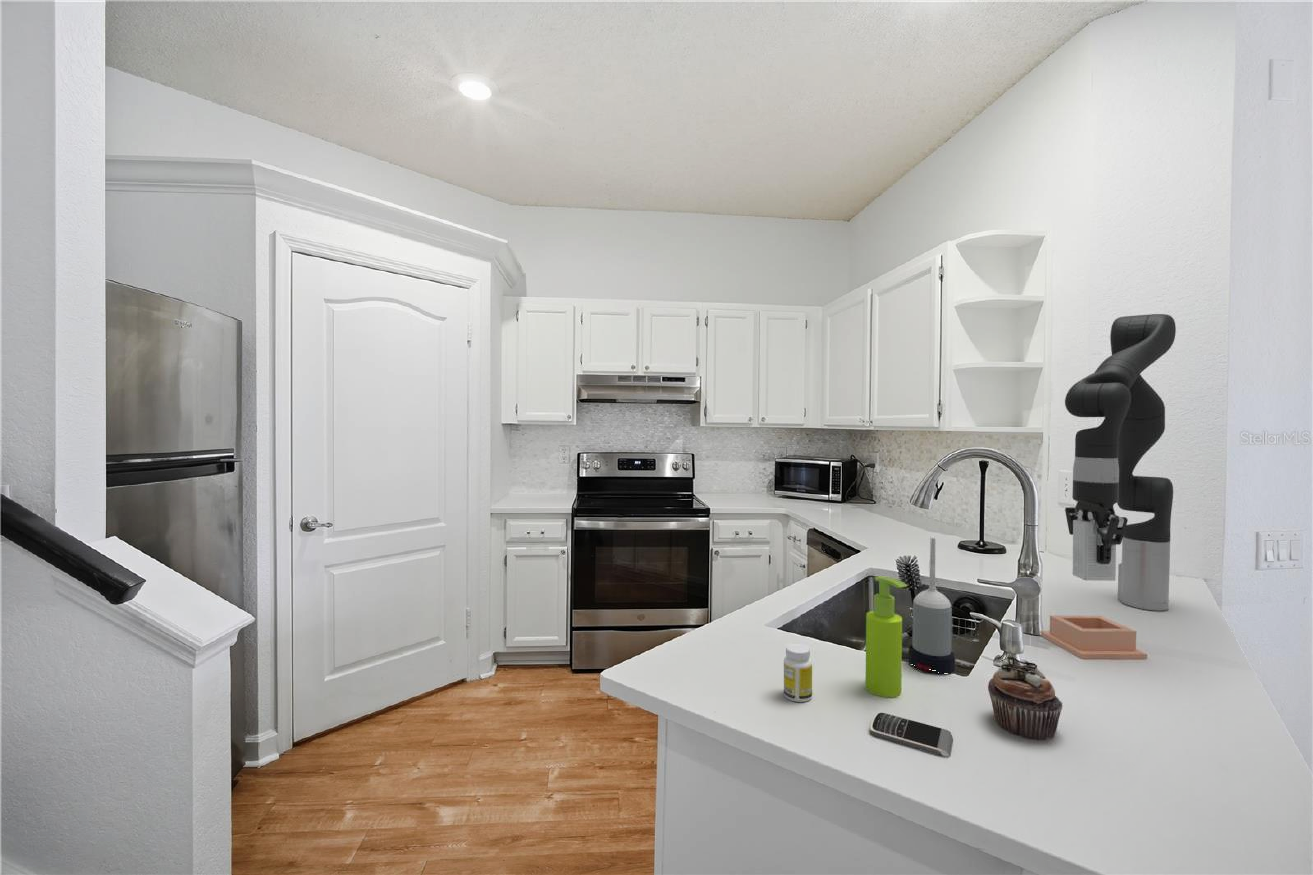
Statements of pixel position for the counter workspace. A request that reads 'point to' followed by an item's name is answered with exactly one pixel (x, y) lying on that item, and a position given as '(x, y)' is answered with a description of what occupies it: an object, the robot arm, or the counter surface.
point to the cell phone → (912, 734)
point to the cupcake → (1024, 700)
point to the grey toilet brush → (932, 628)
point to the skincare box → (1090, 554)
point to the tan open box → (1093, 637)
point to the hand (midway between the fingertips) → (1093, 560)
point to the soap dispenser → (884, 642)
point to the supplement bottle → (798, 673)
